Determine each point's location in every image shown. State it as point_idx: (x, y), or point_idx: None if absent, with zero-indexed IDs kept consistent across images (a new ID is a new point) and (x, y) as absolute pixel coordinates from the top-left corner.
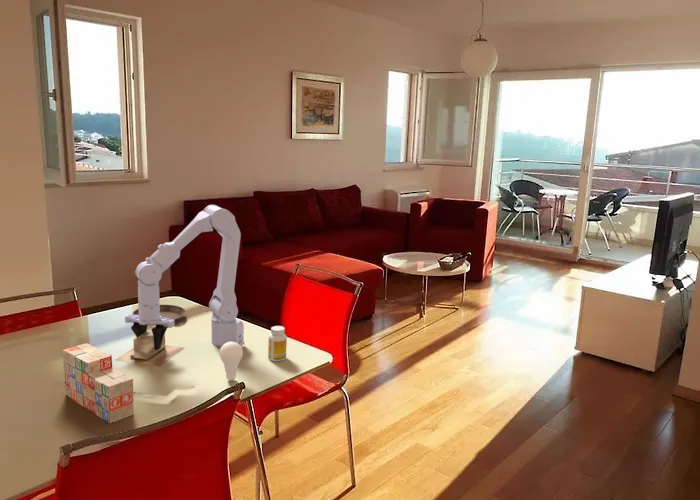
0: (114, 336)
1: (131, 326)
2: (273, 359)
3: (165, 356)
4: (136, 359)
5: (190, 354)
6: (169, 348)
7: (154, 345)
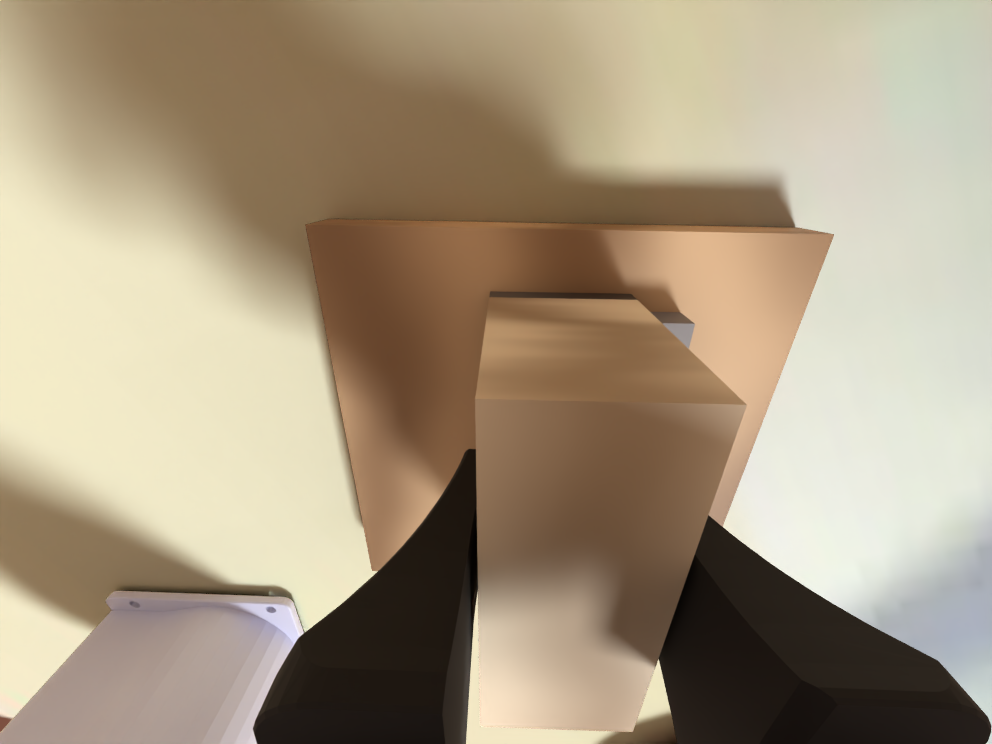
0: (920, 630)
1: (986, 736)
2: None
3: (400, 423)
4: (608, 295)
5: (328, 525)
6: None
7: None
